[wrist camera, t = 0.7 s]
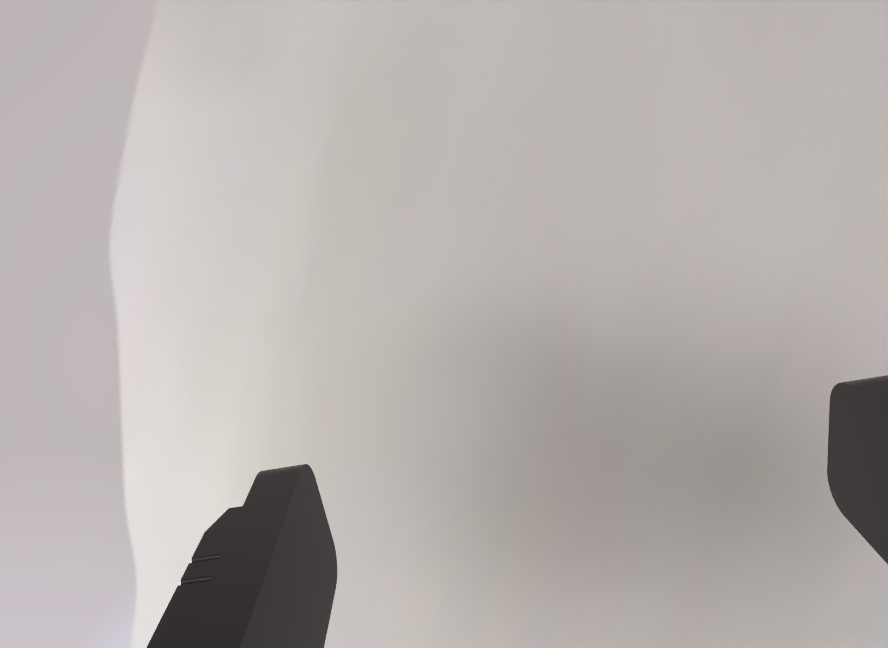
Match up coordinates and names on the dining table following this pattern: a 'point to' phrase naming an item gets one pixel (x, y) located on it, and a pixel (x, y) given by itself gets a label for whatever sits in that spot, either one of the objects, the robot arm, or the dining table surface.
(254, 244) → the dining table surface
